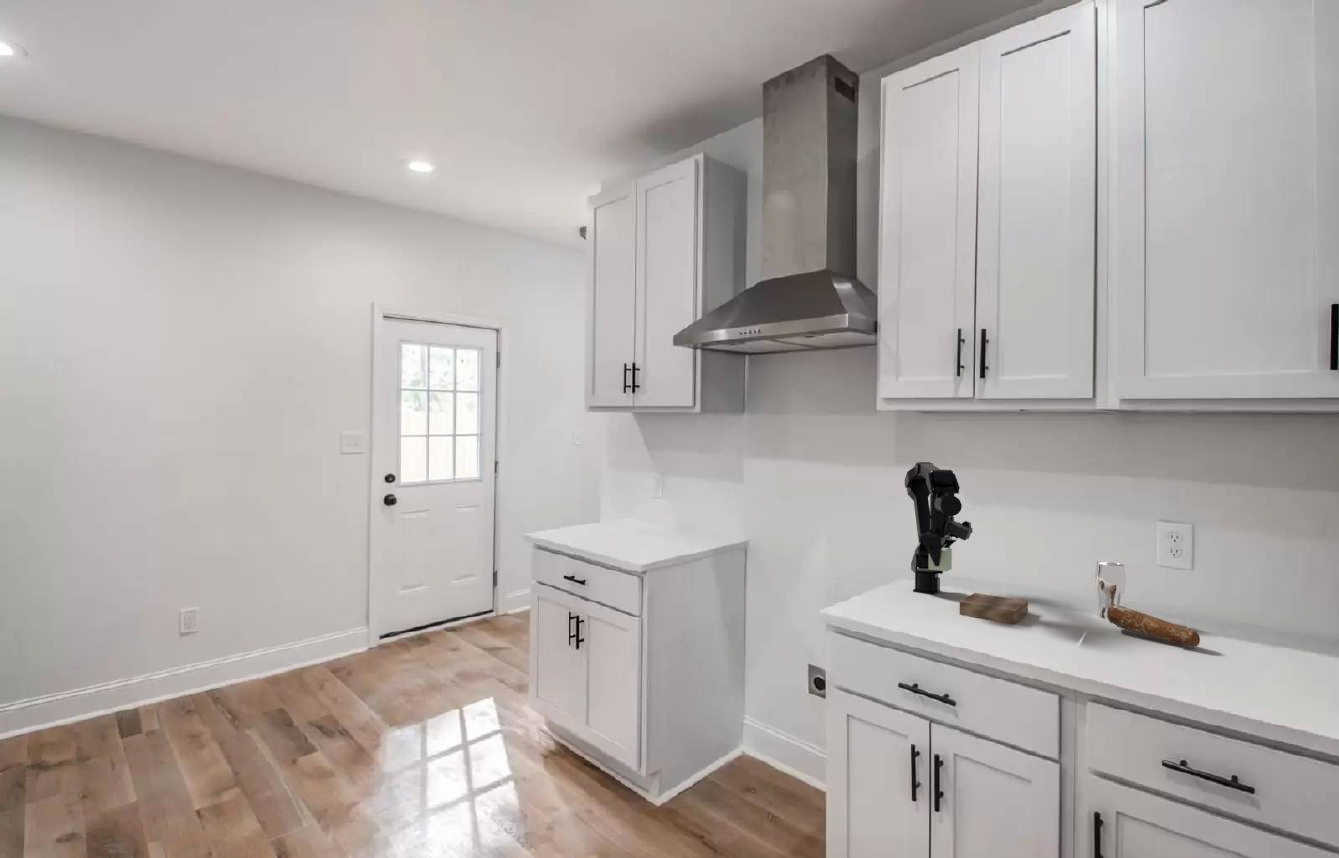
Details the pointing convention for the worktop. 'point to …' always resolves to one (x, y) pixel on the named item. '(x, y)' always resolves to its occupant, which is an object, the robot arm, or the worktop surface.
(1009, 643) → the worktop surface
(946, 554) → the sage block
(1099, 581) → the beer glass
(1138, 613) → the bread
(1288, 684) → the worktop surface
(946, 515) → the robot arm
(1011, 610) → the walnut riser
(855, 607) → the worktop surface
